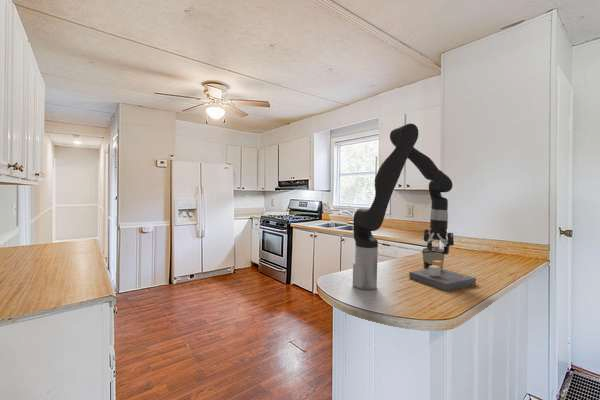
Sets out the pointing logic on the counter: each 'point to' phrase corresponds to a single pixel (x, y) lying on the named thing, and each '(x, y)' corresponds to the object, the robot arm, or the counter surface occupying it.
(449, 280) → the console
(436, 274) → the grey fader
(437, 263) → the orange fader
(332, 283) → the counter surface
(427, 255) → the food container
